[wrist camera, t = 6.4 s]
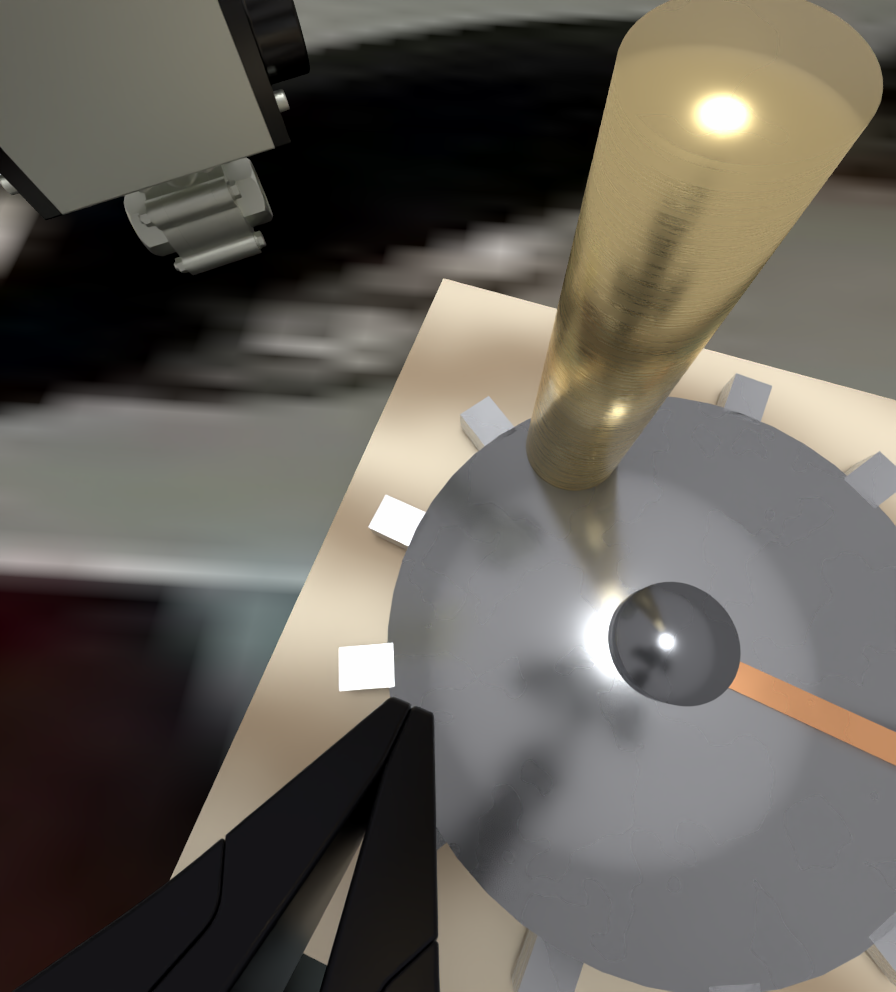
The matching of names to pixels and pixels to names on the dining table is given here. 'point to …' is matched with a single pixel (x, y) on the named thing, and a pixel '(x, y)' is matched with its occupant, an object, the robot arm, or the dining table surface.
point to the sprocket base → (374, 571)
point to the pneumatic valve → (149, 114)
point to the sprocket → (668, 565)
